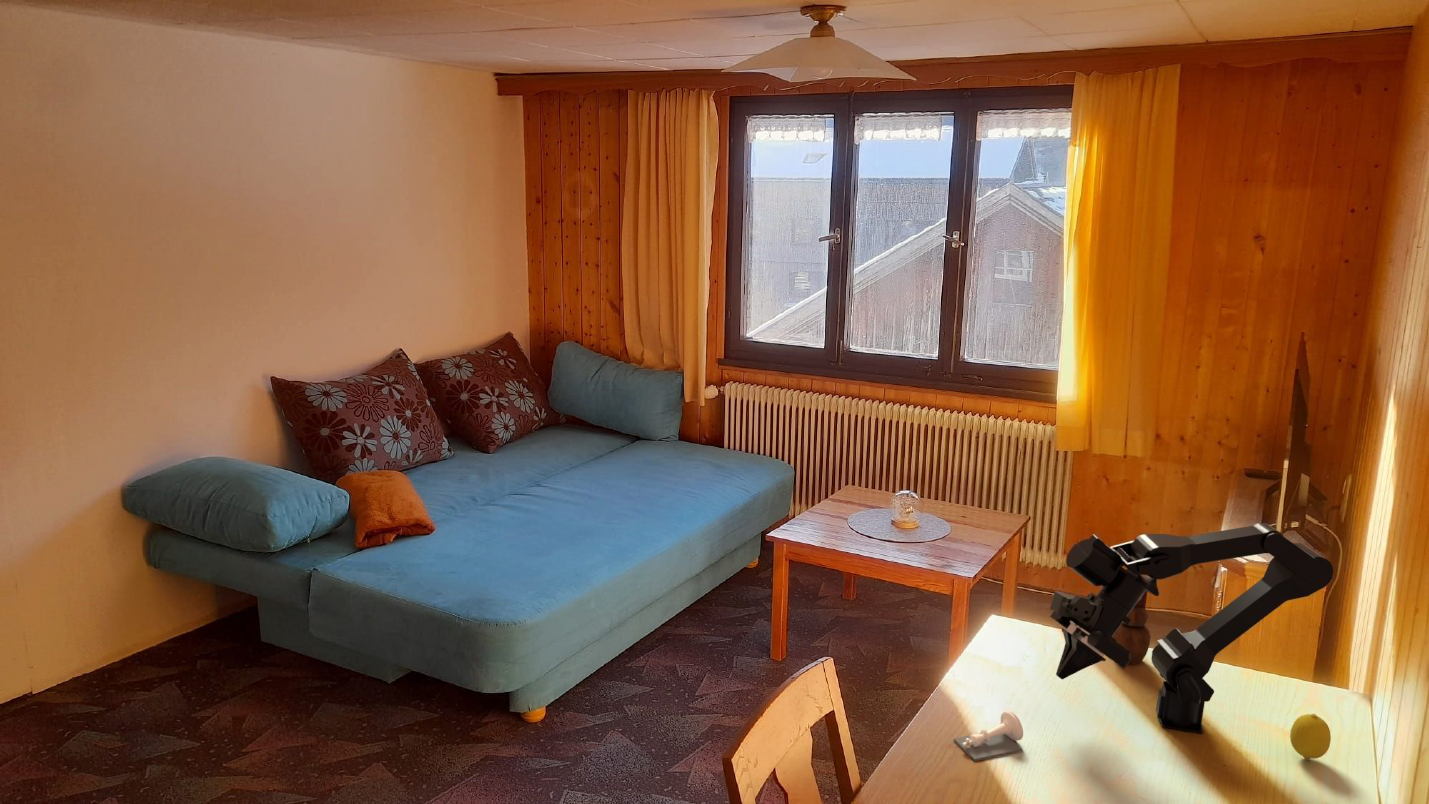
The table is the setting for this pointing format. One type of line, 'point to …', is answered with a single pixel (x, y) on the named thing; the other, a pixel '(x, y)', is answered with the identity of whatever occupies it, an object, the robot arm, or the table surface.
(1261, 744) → the table surface
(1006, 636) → the table surface
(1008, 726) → the chess piece
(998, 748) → the slate mat
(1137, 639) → the wooden figurine
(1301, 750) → the lemon
